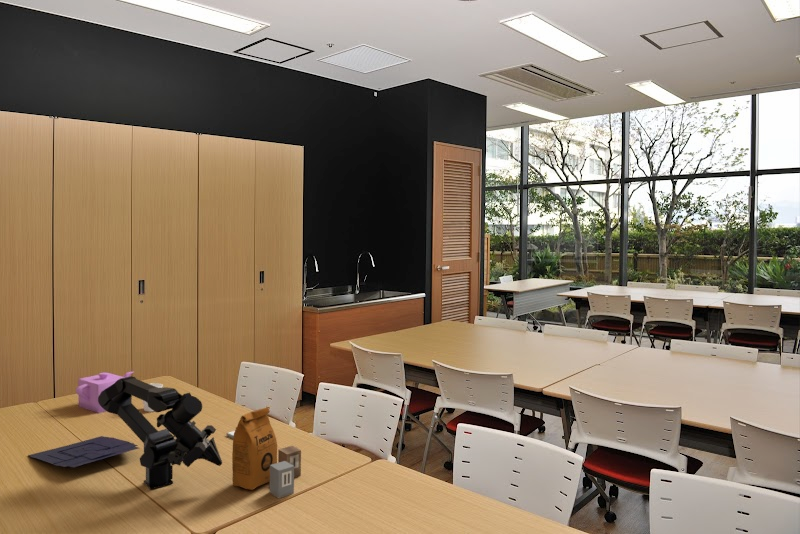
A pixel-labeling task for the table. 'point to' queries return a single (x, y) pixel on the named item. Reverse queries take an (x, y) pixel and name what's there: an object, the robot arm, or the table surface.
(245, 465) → the coffee package
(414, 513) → the table surface
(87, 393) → the teapot
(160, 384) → the white cup
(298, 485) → the table surface
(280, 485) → the grey numbered block
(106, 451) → the dark blue flat slab
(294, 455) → the walnut numbered block
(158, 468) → the robot arm
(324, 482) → the table surface
